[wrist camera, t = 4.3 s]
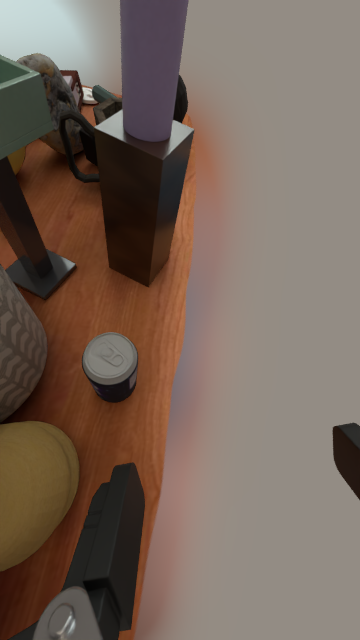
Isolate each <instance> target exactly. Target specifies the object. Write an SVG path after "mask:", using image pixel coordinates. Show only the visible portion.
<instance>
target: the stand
mask: <svg viewBox="0 0 360 640" xmlns="http://www.w3.org/2000/svg"><path fill="white" fill-rule="evenodd" d="M94 134H95V143H96V152H97V161H98V170H99V179H100V188H101V197H102V206H103V215H104V224H105V233H106V242H107V251H108V260H109V268H111V269H113V270H115V271H117V272H119V273H121V274H123V275H125V276H127V277H129V278H131V279H133V280H135V281H137V282H139V283H141V284H143V285H145V286H147V287H149V286H150V284H151V283H152V282H153V280H154V279H155V277H156V276H157V274H158V273H159V271H160V270H161V269H162V267H163V266H164V264H165V263H166V261H167V260H168V258H169V253H170V248H171V243H172V238H173V233H174V228H175V223H176V218H177V214H178V209H179V204H180V199H181V194H182V189H183V184H184V179H185V174H186V169H187V164H188V159H189V154H190V149H191V144H192V139H193V134H194V129H192V128H190V127H188V126H186V125H183V124H181V123H179V122H177V121H175V120H173V122H172V130H171V135H170V137H169V138H168V139H166V140H164V141H160V142H149V141H143V140H140V139H137V138H135V137H133V136H131V135H130V134H129V133H127V132H126V131H125V129H124V127H123V110H120V111H119V112H117V113H116V114H114V115H113V116H111V117H109V118H108V119H106V120H105V121H103V122H102V123H100V124H98V125H97V126H95V127H94Z"/></svg>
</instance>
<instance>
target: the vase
mask: <svg viewBox="0 0 360 640" xmlns="http://www.w3.org/2000/svg"><path fill="white" fill-rule="evenodd" d="M25 148H26V146H24V147H22V148H20V149H19V150H17V151H15V152H13V153H12V154H10V155H8V156H7V157H8V159H9V161H10V164H11V166H12V169H13V171H14V173H15V175H16V174H17V173H18V172H19V170H20V168H21V166H22V164H23V161H24V158H25Z"/></svg>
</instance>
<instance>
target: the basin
mask: <svg viewBox="0 0 360 640" xmlns="http://www.w3.org/2000/svg"><path fill="white" fill-rule="evenodd" d="M51 120H52V119H51V115H50V111H49V107H48V102H47V98H46V94H45V90H44V86H43V81H42V77H41V74H40V73H39V72H36V71H34V70H32V69H30V68H28V67H26V66H24V65H21V64H19V63H17V62H15V61H13V60H10V59H8V58H6V57H4V56H2V55H0V228H1V230H2V232H3V234H4V235H5V237H6V239H7V240H8V242H9V244H10V246H11V247H12V249H13V251H14V252H15V254H16V256H17V258H18V260H16V261H15V262H14V263H13V264H12V265H11V266H9V267H8V268H7V269H6V270H5V271H6V273H7V274H8V276H9V277H10V279H11V280H12V281H13V283H14V284H15V285H17V286H19V287H21V288H22V289H24V290H26V291H28V292H30V293H32V294H34V295H36V296H38V297H40V298H42V299H44V300H46V299H47V298H48V297H49V296H50V295H51V294H52V293H53V292H54V291H55V290H56V289H57V288H58V287H59V286H60V285H61V284H62V283H63V281H64V280H65V279H66V278H67V277H68V276H69V275H70V274H71V273H72V272H73V271H74V270H75V269H76V268H77V266H76V264H75V263H73V262H71V261H69V260H67V259H65V258H63V257H61V256H59V255H57V254H55V253H53V252H51V251H49V250H48V249H46V248H45V246H44V243H43V241H42V238H41V236H40V234H39V231H38V229H37V226H36V224H35V222H34V219H33V217H32V214H31V212H30V210H29V207H28V205H27V202H26V200H25V198H24V195H23V193H22V190H21V188H20V186H19V183H18V181H17V178H16V176H15V173H14V171H13V169H12V166H11V164H10V161H9V159H8V157H7V156H8V155H10V154H12V153H13V152H15V151H17V150H19V149H20V148H22V147H24V146H26V145H28V144H29V143H31V142H33V141H35V140H36V139H38V138H40V137H42V136H43V135H45V134H47V133H49V132H50V131H52V130H54V128H53V124H52V121H51Z"/></svg>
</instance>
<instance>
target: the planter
mask: <svg viewBox="0 0 360 640" xmlns="http://www.w3.org/2000/svg"><path fill="white" fill-rule="evenodd" d="M47 348H48V345H47V338H46V333H45V330H44V328H43V326H42V324H41V322H40V320H39V319H38V318H37V316H36V315H35V313H34V312H33V310H32V309H31V307H30V306H29V305H28V303H27V302H26V300H25V299H24V297H23V296H22V294H21V293H20V292H19V290H18V289H17V287H16V286H15V284H14V283H13V281H12V280H11V279H10V277H9V276H8V274H7V273H6V271H5V270H4V269H3V267H2V266H1V264H0V423H1V422H2V421H3V420H5V419H6V418H7V417H9V416H10V415H11V414H12V413H13V412H15V411H16V410H17V409H18V408H19V407H20V406H21V405H22V404H23V403H24V401H25V400H26V399H27V398H28V397H29V395H30V394H31V393H32V391H33V390H34V388H35V387H36V385H37V383H38V382H39V380H40V377H41V375H42V373H43V370H44V367H45V364H46V359H47Z"/></svg>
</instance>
